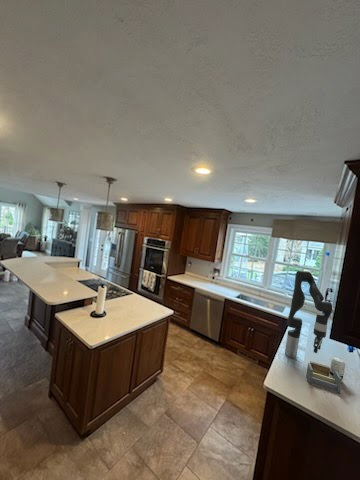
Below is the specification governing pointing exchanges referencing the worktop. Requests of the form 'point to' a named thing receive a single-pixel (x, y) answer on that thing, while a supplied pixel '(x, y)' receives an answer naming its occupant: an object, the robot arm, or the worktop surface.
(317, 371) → the door panel
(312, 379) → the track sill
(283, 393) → the worktop surface
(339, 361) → the supplement can
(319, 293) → the robot arm
